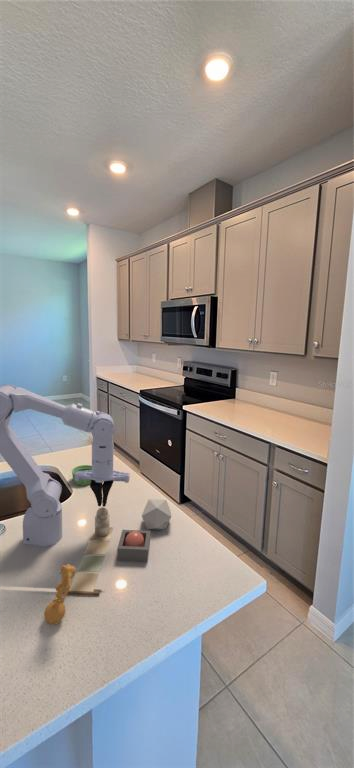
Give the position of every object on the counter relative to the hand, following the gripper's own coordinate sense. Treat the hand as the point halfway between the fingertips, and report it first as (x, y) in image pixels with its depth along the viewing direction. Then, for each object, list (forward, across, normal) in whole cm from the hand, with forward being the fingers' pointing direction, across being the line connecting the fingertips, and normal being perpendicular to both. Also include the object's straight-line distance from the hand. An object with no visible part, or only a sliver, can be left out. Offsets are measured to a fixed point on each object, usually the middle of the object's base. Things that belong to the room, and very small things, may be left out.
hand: (102, 504), depth 91 cm
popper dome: (+9, +10, -7) cm, 15 cm away
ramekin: (+10, -14, +32) cm, 36 cm away
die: (+10, +15, +5) cm, 18 cm away
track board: (+9, 0, -9) cm, 13 cm away
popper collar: (+9, +10, -7) cm, 15 cm away
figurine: (+10, -2, -27) cm, 29 cm away
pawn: (+9, 0, 0) cm, 9 cm away
